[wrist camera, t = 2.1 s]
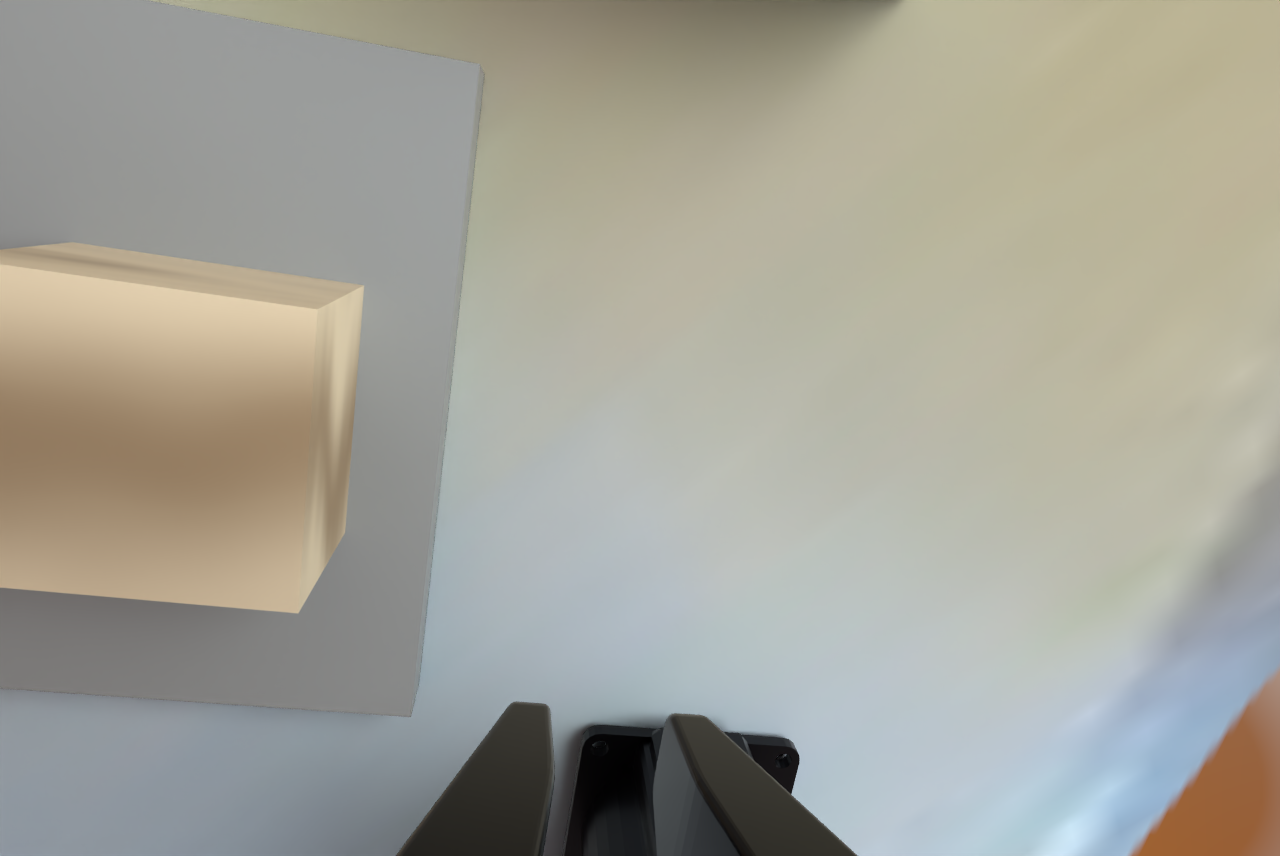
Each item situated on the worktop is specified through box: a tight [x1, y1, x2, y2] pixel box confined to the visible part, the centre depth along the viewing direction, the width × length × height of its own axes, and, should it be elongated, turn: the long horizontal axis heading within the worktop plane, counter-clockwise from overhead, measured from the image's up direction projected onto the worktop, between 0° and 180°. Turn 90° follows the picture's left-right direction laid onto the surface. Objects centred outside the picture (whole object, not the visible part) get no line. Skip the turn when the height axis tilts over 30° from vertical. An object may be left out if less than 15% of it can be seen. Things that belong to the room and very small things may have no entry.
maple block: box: [0, 242, 364, 613], centre depth 17 cm, size 6×6×4 cm
